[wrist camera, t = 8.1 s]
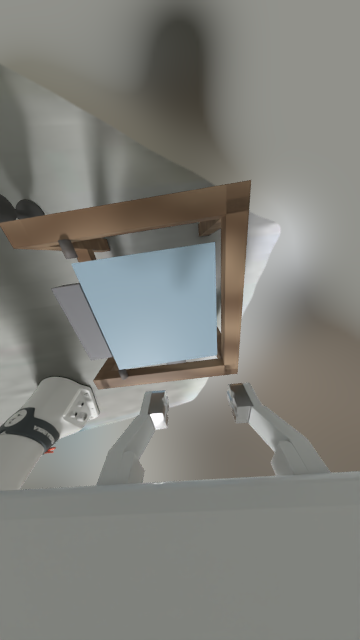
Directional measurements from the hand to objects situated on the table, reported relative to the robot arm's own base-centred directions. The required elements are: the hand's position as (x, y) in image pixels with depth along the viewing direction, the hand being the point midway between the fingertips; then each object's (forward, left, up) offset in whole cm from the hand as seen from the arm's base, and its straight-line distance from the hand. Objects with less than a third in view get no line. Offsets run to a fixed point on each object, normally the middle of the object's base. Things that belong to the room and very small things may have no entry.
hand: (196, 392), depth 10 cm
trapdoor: (+3, +5, -10) cm, 12 cm away
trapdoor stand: (+3, +4, -24) cm, 25 cm away
